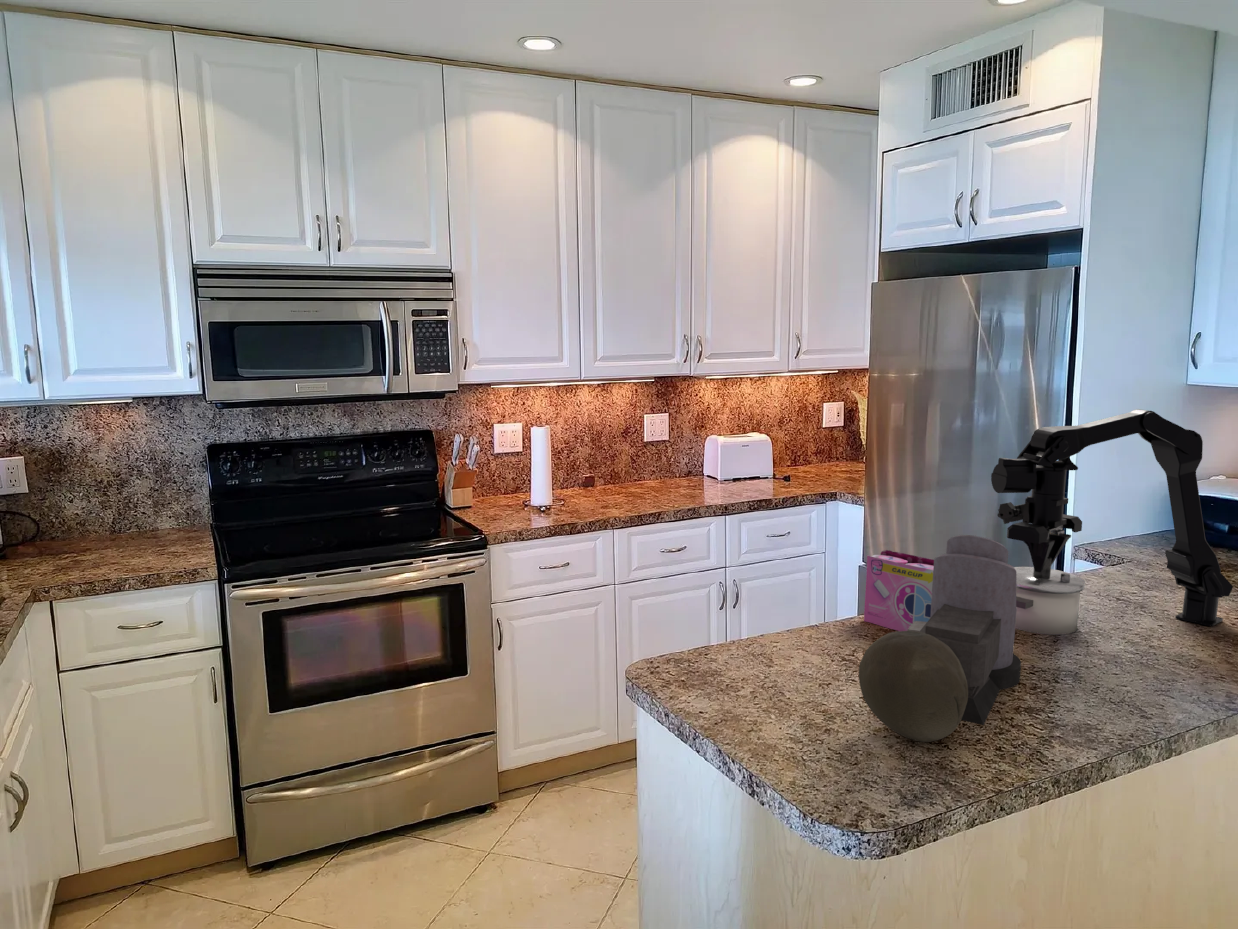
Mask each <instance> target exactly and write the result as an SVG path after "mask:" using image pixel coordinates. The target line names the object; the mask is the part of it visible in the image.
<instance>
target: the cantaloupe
mask: <svg viewBox="0 0 1238 929" xmlns="http://www.w3.org/2000/svg"><path fill="white" fill-rule="evenodd" d="M858 681H859V687H860V690H861V694H862V698H863V700H864V702H865V703H866V705H867V707H868V708H869V710H870V711H871V712H872V713H873V714H874V716H875V717H876V718H877V719H879V720H878V721H880V722H882V724H883V725H885V727H887V728H888V729H890V730H891V731H893V732H894V733H897V734H898V735H900V736H903V737H904V738H907V739H910V740H912V741H916V742H923V743H928V742H929V743H931V742H935V741H940V740H941V739H944V738H947V737H948V736H950V735H951V734H953V733H954V731H956V729H957V728H958V726H959V725H960V723H961V721H962V720H961V719H962V716H963V714H964V711H965V708H966V704H967V701H968V685H967V680H966V677H965V673H964V671H963V668H962V666H961V663H960V661H959V659H958V658H957V656H956V655H955V654H954V652H953V651H952V650H951V649H950V647H949V646H947V645H946V644H945V643H943V642H942V641H940V640H938V639H937V638H935V637H933V636H931V635H929V634H925V633H922V632H916V631H897V630H896V631H892V632H888V633H886V634H884V635H883V636H881V637H879V638H878V639H876V640H875V641H874V642H872V643H871V645H869V646H868V648H866V650H865V652H864V654H863V656H862V657H861V661H860V662H859V665H858Z"/></svg>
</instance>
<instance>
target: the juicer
mask: <svg viewBox="0 0 1238 929" xmlns="http://www.w3.org/2000/svg"><path fill="white" fill-rule="evenodd" d="M945 550H946V551H945V552H946V553H941V554H939V555H937V556H936V557H935V558H934V559H933V560H934V568H933V583H932V599H931V616H930V619H929V621H928V622H923V621H915V622H914V623H913V624H912V625H911V626H910V627H909V628H908V630H907V631H916V632H922V633H925V634H929V635H931V636H933V637H935V638H937V639H938V640H940V641H942V642H943V643H945V644H946V645H947V646H949V647H950V649H951V650H952V651H953V652H954V654H955V655H956V656H957V658H958V659H959V661H960V663H961V666H962V668H963V671H964V673H965V677H966V680H967V685H968V701H967V704H966V708H965V711H964V714H963V716H962V719H961V721H962V722H963V721H964V722H967V723H968V722H969V723H972V724H976V725H982V726H984V725H985V723H986V722H987V720H988V717H989V715H990V712H991V711H992V708H993V707H994V703H995V702H996V700H997V697H998V696H999V693H1000V691H1001V690H1008V689H1011V688H1013V687H1016V686H1017V685H1018V684H1019V683H1020V680H1021V673H1022V672H1021V670H1022V660H1021V659H1020V658H1019V656H1018V655H1016V654H1015V653H1014V650H1015V649H1014V647H1015V646H1014V645H1015V635H1016V634H1015V633H1016V628H1015V624H1016V611H1017V609H1016V570H1015V568H1014V567H1015V566H1013V565H1011V564H1008V562H1009V550H1008V548H1006V546H1005V545H1004V544H1002V543H1001V542H997V541H996V540H993V539H991V538H987V537H983V536H977V535H971V534H970V535H967V534H959V535H954V536H952V537H950V538H948V539H947V541H946V549H945Z"/></svg>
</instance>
